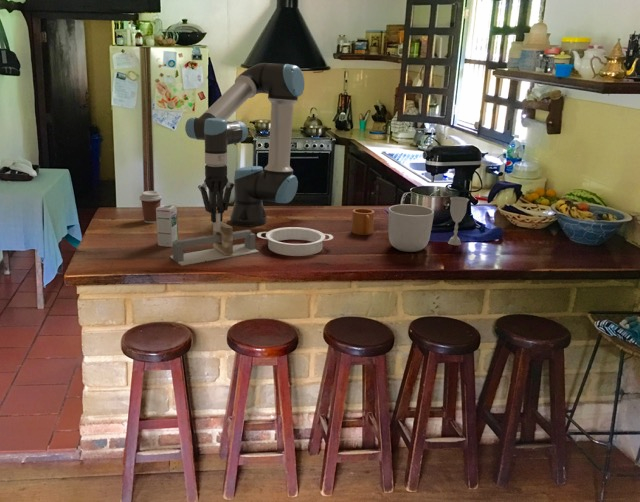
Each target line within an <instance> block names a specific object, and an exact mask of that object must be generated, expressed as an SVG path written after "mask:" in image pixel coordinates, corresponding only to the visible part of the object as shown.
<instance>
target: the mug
mask: <svg viewBox="0 0 640 502" xmlns="http://www.w3.org/2000/svg"><path fill="white" fill-rule="evenodd" d="M351 215H352V218H351V232H352V234H354V235H359V236H369V235H372V234H373V233H374V225H375V224H374V223H375V210H373V209H370V208H354V209H352V214H351Z"/></svg>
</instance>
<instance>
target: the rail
mask: <svg viewBox="0 0 640 502" xmlns="http://www.w3.org/2000/svg"><path fill="white" fill-rule="evenodd" d="M241 239H244V243H239V244H233V253H232V254H226V255H225V254H223V253H222V252H220V251H219V250H217V249H215V248H209V249H204V250H199V251H192V252H185V253H184V248H190V247H196V246H197V247H198V246H203V245H209V244H213V243H216V242H222V234H216V235H213V234H211V235H204V236H199V237H191V238H184V239H178V240H177V243H173V247H172V255H170V256H169V258H171V259H172V260H173V261H174V262H176V263H177V264H179V266H181V267H183V266H188V265H194V264H201V263H205V261H206V262H210V261H216V260H222V259H228V258H232V257H239V256H245V255H246V256H247V255H251V254H256V253H259V252H260V251H259V250H258V249H256V234H255V233H253V232H252V230H251V229H243V230H238V231H237V230H236V231H233V241H234V240H241Z"/></svg>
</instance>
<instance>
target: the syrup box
mask: <svg viewBox="0 0 640 502" xmlns="http://www.w3.org/2000/svg"><path fill="white" fill-rule="evenodd" d="M177 209H178V207H177V205H175V204H161V205H160V207H158V208H156V218H157V223H156V230H157V231H156V232H157V234H156V235H157V245H158V246H160V247H167V248H173V243H177V240H179V227H178V226H179V224H178V210H177Z"/></svg>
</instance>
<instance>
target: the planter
mask: <svg viewBox="0 0 640 502" xmlns="http://www.w3.org/2000/svg"><path fill="white" fill-rule="evenodd" d="M434 217H435V211H434V210H433V209H432V208H431V207H428V206H424V205H417V204H407V203H406V204H403V203H402V204H394V205H391V206H389V207H388V228H387V229H388V230H387V231H388V239H389V240H388V241H389V243H390V244H391V246H392V247H393V248H395V249H396V250H398V251H401V252H407V253H413V252H415V253H416V252H419V251H422V250H423V249H425V247H427V245H428V243H429V241H430V238H431V233H432V232H431V231H432V227H433V221H434Z"/></svg>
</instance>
